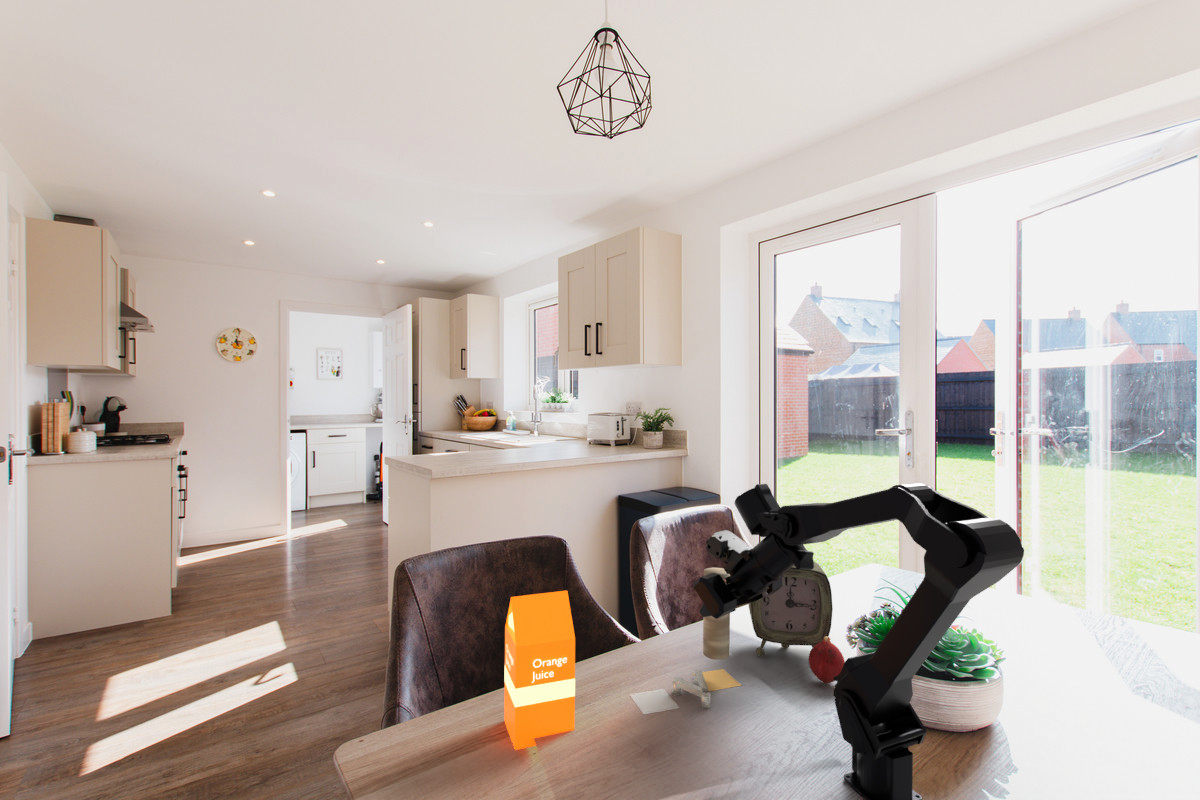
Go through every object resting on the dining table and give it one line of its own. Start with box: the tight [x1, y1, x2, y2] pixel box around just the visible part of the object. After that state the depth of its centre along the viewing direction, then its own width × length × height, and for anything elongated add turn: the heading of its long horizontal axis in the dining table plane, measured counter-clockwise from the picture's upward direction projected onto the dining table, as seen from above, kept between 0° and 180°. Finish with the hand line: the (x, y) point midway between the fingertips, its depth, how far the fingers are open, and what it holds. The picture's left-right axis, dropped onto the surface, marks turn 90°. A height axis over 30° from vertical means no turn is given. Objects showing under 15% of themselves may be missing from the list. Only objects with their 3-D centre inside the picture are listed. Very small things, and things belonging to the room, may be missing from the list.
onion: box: [807, 636, 846, 685], centre depth 97 cm, size 6×6×8 cm
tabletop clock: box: [748, 561, 833, 657], centre depth 109 cm, size 14×9×25 cm, turn 80°
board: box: [628, 668, 742, 716], centre depth 90 cm, size 14×20×1 cm
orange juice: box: [503, 590, 576, 751], centre depth 83 cm, size 8×9×20 cm
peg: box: [702, 567, 731, 661], centre depth 96 cm, size 4×4×14 cm
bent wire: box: [671, 669, 712, 711], centre depth 90 cm, size 7×6×2 cm
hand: (709, 610), depth 97 cm, fingers closed on peg, 4 cm apart
